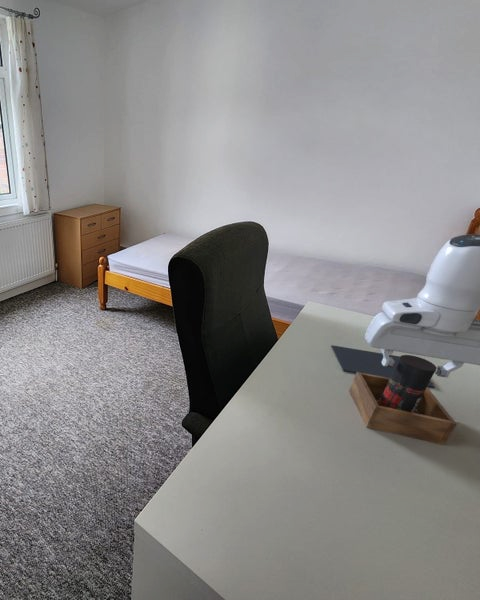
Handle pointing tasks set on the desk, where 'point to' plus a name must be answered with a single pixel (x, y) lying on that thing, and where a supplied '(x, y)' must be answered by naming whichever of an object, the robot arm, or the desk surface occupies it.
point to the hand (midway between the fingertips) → (412, 370)
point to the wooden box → (401, 412)
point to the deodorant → (407, 383)
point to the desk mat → (364, 362)
